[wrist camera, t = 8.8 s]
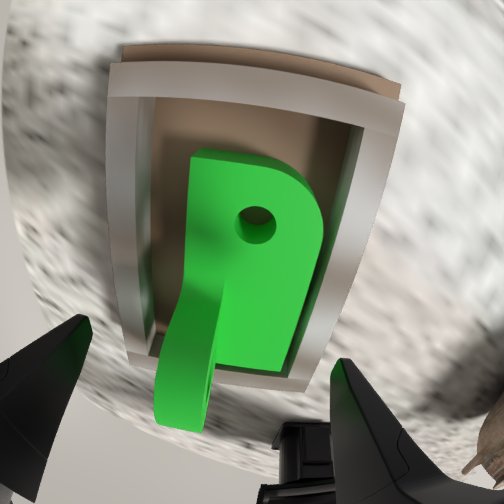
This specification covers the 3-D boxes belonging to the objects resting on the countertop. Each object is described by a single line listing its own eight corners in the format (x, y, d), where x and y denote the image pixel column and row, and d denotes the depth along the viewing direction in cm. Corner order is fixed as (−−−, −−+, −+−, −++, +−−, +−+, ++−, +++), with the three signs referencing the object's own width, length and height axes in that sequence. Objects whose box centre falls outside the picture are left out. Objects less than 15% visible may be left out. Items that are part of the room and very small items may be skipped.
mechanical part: (280, 348, 20) (279, 459, 13) (190, 334, 19) (160, 441, 13) (329, 168, 14) (386, 257, 7) (201, 147, 13) (128, 216, 7)
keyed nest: (305, 368, 22) (307, 400, 19) (137, 342, 22) (125, 371, 19) (393, 84, 12) (419, 85, 9) (131, 47, 12) (103, 42, 9)
